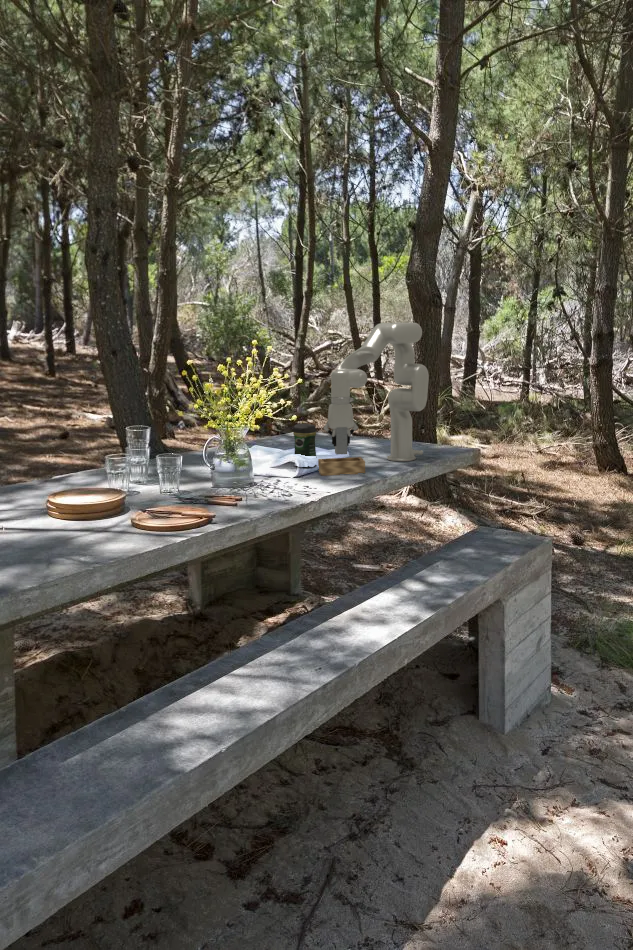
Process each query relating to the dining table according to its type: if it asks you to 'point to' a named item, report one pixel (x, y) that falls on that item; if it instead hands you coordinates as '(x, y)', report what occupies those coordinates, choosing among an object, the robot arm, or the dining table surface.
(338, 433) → the grey rectangular block
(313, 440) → the coffee jar
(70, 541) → the dining table surface
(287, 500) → the dining table surface
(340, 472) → the wooden box
